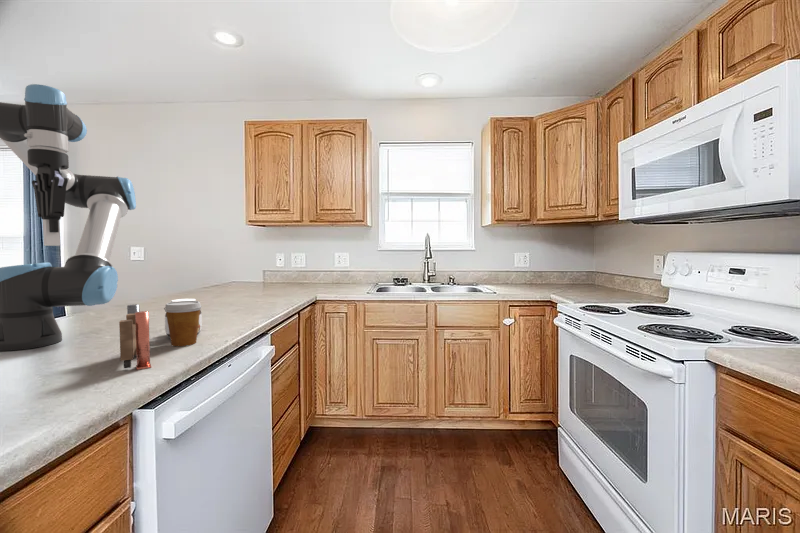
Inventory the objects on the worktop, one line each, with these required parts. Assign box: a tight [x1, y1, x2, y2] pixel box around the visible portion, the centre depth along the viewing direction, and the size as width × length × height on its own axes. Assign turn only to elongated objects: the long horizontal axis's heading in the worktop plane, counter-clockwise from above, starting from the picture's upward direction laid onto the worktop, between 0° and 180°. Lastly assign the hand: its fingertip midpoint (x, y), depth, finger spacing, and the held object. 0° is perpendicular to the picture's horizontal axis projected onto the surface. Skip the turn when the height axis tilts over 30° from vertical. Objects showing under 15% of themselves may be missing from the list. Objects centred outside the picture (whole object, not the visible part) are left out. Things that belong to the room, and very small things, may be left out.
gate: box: [118, 313, 136, 369], centre depth 91 cm, size 2×13×11 cm, turn 29°
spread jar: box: [164, 298, 203, 338], centre depth 120 cm, size 12×11×12 cm
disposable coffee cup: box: [163, 300, 202, 347], centre depth 110 cm, size 10×10×12 cm
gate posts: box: [126, 304, 152, 371], centre depth 93 cm, size 17×4×13 cm, turn 38°
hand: (52, 245), depth 96 cm, fingers closed
